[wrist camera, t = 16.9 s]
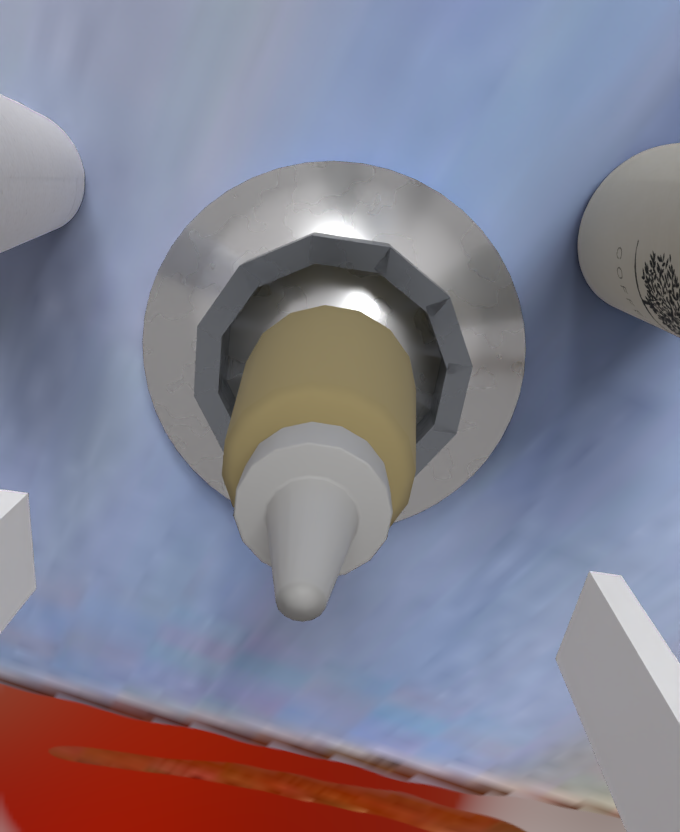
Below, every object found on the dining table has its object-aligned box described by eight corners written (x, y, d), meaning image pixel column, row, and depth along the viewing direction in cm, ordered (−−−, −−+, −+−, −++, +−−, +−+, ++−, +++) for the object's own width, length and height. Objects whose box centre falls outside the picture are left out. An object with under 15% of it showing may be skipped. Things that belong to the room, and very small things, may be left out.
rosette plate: (155, 132, 27) (128, 124, 24) (564, 196, 28) (591, 197, 24) (149, 493, 35) (127, 524, 31) (470, 537, 35) (482, 573, 32)
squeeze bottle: (262, 440, 31) (155, 728, 15) (248, 293, 28) (92, 445, 12) (408, 436, 31) (470, 727, 14) (409, 288, 28) (489, 436, 11)
